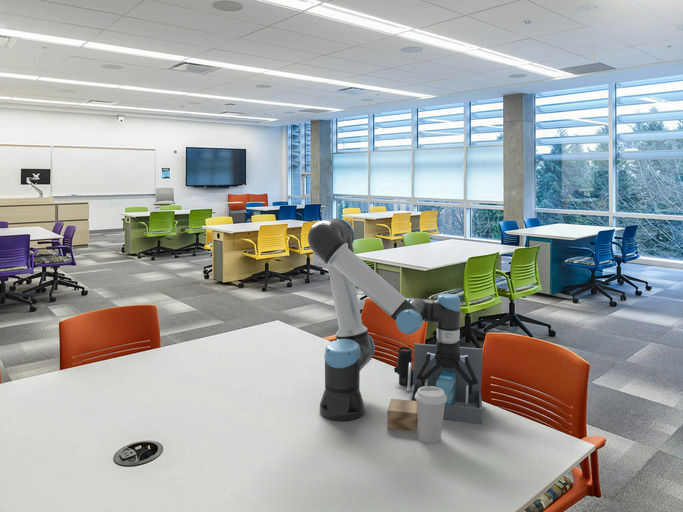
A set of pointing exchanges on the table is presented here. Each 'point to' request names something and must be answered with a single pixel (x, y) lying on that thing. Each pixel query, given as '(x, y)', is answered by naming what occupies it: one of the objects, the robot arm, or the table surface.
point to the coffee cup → (430, 413)
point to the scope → (404, 365)
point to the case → (475, 398)
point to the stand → (402, 415)
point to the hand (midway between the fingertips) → (446, 400)
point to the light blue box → (448, 386)
